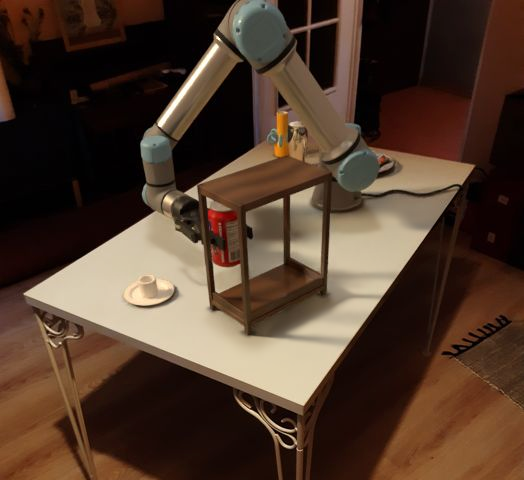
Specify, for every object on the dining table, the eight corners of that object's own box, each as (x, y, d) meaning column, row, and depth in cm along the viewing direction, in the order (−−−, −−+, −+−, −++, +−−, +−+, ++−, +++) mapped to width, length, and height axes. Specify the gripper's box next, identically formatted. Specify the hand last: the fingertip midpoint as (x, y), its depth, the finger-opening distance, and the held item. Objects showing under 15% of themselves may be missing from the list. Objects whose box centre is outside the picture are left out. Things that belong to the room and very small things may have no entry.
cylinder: (294, 161, 203) (294, 118, 194) (265, 160, 205) (264, 117, 196) (299, 149, 213) (299, 108, 204) (272, 148, 215) (271, 107, 205)
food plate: (406, 165, 197) (408, 155, 195) (366, 185, 184) (367, 174, 182) (349, 150, 211) (350, 140, 209) (308, 167, 198) (309, 157, 196)
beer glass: (286, 165, 201) (285, 121, 192) (305, 163, 201) (306, 120, 192) (288, 172, 195) (288, 127, 186) (308, 170, 196) (309, 126, 187)
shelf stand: (209, 308, 130) (196, 184, 112) (287, 272, 142) (286, 155, 124) (247, 335, 122) (240, 206, 103) (326, 294, 133) (332, 171, 115)
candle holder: (132, 280, 141) (129, 265, 138) (179, 281, 140) (177, 266, 137) (118, 307, 132) (114, 291, 129) (168, 308, 131) (165, 293, 128)
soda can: (235, 272, 135) (231, 213, 125) (207, 266, 137) (200, 208, 128) (249, 257, 140) (246, 200, 131) (222, 252, 143) (217, 195, 134)
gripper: (216, 211, 152) (271, 239, 138) (152, 235, 142) (204, 268, 128) (214, 184, 148) (271, 211, 133) (147, 207, 138) (200, 238, 124)
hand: (238, 239), depth 131 cm, fingers closed on soda can, 7 cm apart
